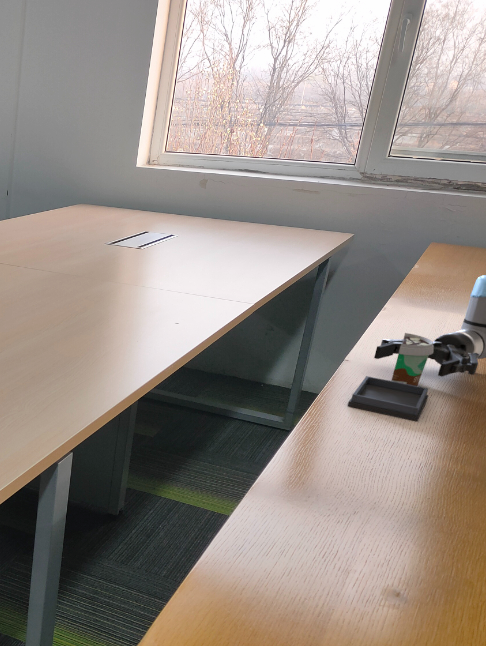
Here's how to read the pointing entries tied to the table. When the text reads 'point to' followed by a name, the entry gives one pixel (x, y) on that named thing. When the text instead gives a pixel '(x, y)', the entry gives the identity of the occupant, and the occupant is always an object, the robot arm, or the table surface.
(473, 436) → the table surface
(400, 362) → the food container
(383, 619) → the table surface
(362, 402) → the pad
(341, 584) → the table surface
